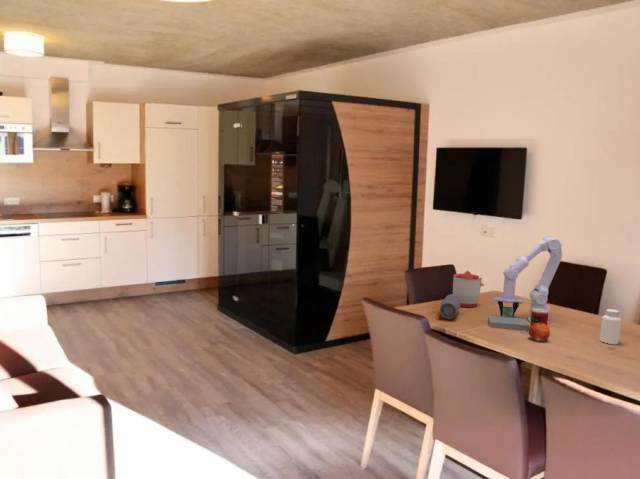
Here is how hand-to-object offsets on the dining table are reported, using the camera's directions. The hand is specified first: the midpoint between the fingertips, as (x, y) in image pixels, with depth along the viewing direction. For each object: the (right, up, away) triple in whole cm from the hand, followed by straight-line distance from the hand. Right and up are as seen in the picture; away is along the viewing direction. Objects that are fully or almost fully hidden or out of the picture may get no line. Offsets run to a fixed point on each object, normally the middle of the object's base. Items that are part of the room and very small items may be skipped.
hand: (506, 316), depth 293 cm
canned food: (+7, -5, -23) cm, 24 cm away
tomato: (+3, -6, -35) cm, 35 cm away
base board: (-4, -3, -12) cm, 13 cm away
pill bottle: (+36, -7, -34) cm, 50 cm away
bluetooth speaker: (-29, 0, +2) cm, 29 cm away
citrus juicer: (-14, +2, +27) cm, 31 cm away
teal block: (0, -1, 0) cm, 1 cm away
